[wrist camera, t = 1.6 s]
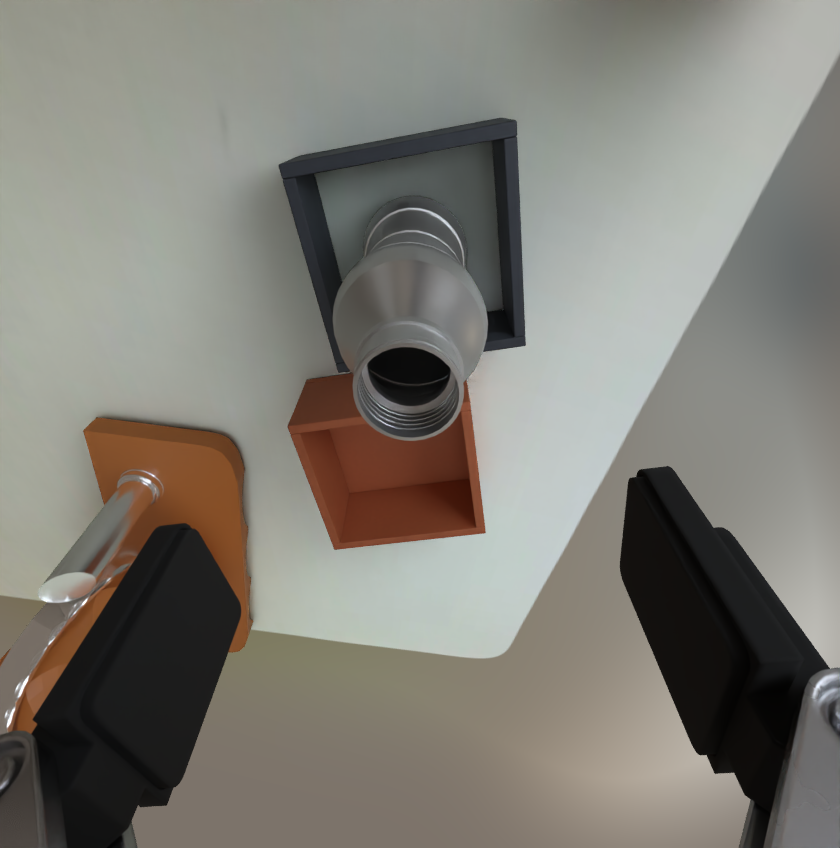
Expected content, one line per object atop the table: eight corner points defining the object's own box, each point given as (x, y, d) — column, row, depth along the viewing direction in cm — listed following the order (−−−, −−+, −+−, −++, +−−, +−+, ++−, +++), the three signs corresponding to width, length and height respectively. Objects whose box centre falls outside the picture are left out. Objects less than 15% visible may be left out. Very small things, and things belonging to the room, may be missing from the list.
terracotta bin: (306, 379, 38) (287, 426, 32) (462, 356, 37) (470, 401, 31) (345, 495, 44) (334, 550, 39) (477, 479, 43) (485, 533, 38)
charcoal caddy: (298, 156, 29) (277, 164, 25) (502, 117, 28) (516, 119, 24) (347, 342, 36) (338, 373, 32) (513, 317, 35) (525, 346, 31)
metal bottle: (397, 308, 34) (375, 499, 18) (347, 219, 31) (262, 352, 14) (480, 266, 33) (540, 434, 16) (436, 167, 29) (454, 251, 13)
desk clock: (149, 625, 56) (33, 847, 39) (93, 413, 39) (-147, 641, 23) (255, 634, 57) (187, 854, 40) (244, 432, 40) (121, 663, 24)
